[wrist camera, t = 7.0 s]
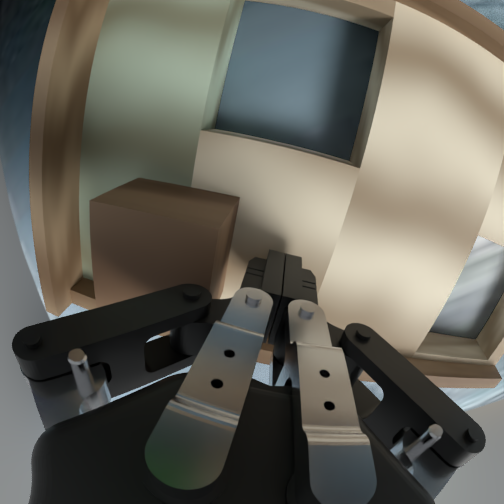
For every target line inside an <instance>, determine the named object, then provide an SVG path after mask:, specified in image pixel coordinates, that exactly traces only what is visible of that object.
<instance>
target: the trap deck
mask: <svg viewBox="0 0 504 504" xmlns="http://www.w3.org/2000/svg"><path fill="white" fill-rule="evenodd" d="M246 1H255V2H263V3H270V4H277V5H283V6H288V7H294V8H299V9H304V10H308V11H313V12H317V13H321V14H325V15H329V16H332V17H336V18H340V19H343V20H346V21H350V22H353V23H356V24H359V25H362V26H365V27H368V28H371V29H374V30H377V31H379V35H378V40H377V46H376V51H375V56H374V61H373V66H372V71H371V75H370V80H369V84H368V89H367V93H366V98H365V102H364V106H363V110H362V114H361V118H360V122H359V126H358V130H357V134H356V138H355V142H354V146H353V149H352V153H351V157H350V160H349V161H348V160H344V159H341V158H338V157H334V156H331V155H327V154H324V153H320V152H317V151H313V150H309V149H305V148H302V147H298V146H294V145H290V144H286V143H281V142H277V141H273V140H269V139H264V138H259V137H255V136H250V135H245V134H240V133H235V132H230V131H224V130H219V129H215V125H216V120H217V115H218V110H219V105H220V101H221V96H222V91H223V87H224V82H225V78H226V73H227V69H228V65H229V60H230V56H231V52H232V48H233V44H234V40H235V36H236V32H237V28H238V24H239V20H240V16H241V13H242V9H243V5H244V2H245V0H56V2H55V5H54V8H53V11H52V15H51V18H50V21H49V25H48V28H47V32H46V36H45V40H44V44H43V48H42V53H41V57H40V62H39V67H38V73H37V78H36V85H35V91H34V99H33V107H32V117H31V129H30V149H29V188H30V208H31V220H32V231H33V239H34V247H35V254H36V261H37V267H38V273H39V278H40V283H41V288H42V293H43V298H44V302H45V306H46V311H48V312H50V313H52V314H54V315H56V316H58V317H59V316H60V315H61V314H62V312H63V311H64V310H65V309H66V308H67V307H68V306H69V305H70V304H71V303H74V304H76V305H78V306H81V307H83V308H86V309H88V310H91V309H95V308H97V306H96V299H95V291H94V281H93V271H92V259H91V243H90V212H89V200H91V199H93V198H95V197H97V196H99V195H101V194H104V193H106V192H108V191H110V190H112V189H114V188H116V187H118V186H121V185H123V184H125V183H127V182H130V181H132V180H134V179H136V178H145V179H150V180H156V181H161V182H167V183H172V184H177V185H183V186H188V187H193V188H198V189H203V190H208V191H213V192H218V193H222V194H227V195H232V196H236V197H240V200H239V206H238V211H237V216H236V222H235V227H234V232H233V238H232V243H231V249H230V254H229V260H228V265H227V271H226V277H225V282H224V288H223V292H222V295H221V297H220V299H228V298H231V297H233V296H234V294H235V292H236V291H237V290H239V289H240V287H241V284H242V281H243V278H244V275H245V272H246V269H247V266H248V263H249V261H250V260H251V259H253V258H254V257H258V258H262V259H267V256H268V252H269V249H270V250H275V251H279V252H283V253H285V254H286V253H287V254H291V255H295V256H299V257H302V268H304V269H308V270H311V271H312V273H313V274H314V276H315V277H316V286H317V297H318V306H320V307H321V308H322V309H323V311H324V313H325V316H326V320H327V322H328V323H330V324H332V325H334V326H336V327H338V328H341V329H343V330H345V328H346V326H347V325H348V324H351V323H361V324H364V325H367V326H369V327H370V328H372V329H373V330H374V331H375V332H377V333H378V334H379V335H380V336H381V337H382V338H383V339H385V340H386V341H387V342H388V343H389V344H390V345H391V346H392V347H394V348H395V349H396V350H397V351H398V352H399V353H400V354H401V355H403V356H404V357H405V358H406V359H407V360H408V361H409V362H410V363H412V364H413V365H414V366H415V367H416V368H417V369H418V370H419V371H420V372H422V373H423V374H424V375H425V376H426V377H427V378H428V379H429V380H430V381H432V382H433V383H434V384H435V385H436V386H437V387H443V388H495V387H496V385H497V384H498V383H499V382H500V381H501V379H502V378H501V376H500V374H499V372H498V370H497V369H496V367H495V365H496V363H497V362H498V361H499V359H500V358H501V357H502V355H503V354H504V293H503V295H502V297H501V298H500V300H499V302H498V304H497V306H496V307H495V309H494V311H493V312H492V314H491V316H490V317H489V319H488V321H487V322H486V324H485V326H484V327H483V329H482V330H481V332H480V333H479V335H478V337H477V338H476V339H469V338H463V337H457V336H451V335H445V334H439V333H433V332H429V330H430V329H431V327H432V325H433V324H434V322H435V320H436V319H437V317H438V315H439V313H440V312H441V310H442V308H443V306H444V305H445V303H446V301H447V299H448V297H449V295H450V294H451V292H452V290H453V288H454V286H455V284H456V282H457V280H458V278H459V276H460V274H461V272H462V270H463V268H464V265H465V263H466V261H467V259H468V257H469V255H470V252H471V250H472V248H473V245H474V243H475V241H476V238H477V236H478V235H479V236H481V237H483V238H485V239H488V240H490V241H492V242H494V243H497V244H499V245H501V246H503V247H504V30H502V29H501V28H500V27H498V26H497V25H496V24H494V23H493V22H492V21H490V20H489V19H487V18H486V17H484V16H483V15H482V14H480V13H479V12H477V11H476V10H474V9H472V8H471V7H469V6H468V5H466V4H464V3H463V2H461V1H459V0H246ZM159 335H160V336H166V335H169V333H162V334H159ZM268 336H269V335H268ZM267 343H268V338H267V341H266V343H263V344H262V347H261V350H260V352H259V355H258V359H257V362H259V363H263V364H268V365H270V357H271V354H272V352H273V348H274V345H271V344H267ZM358 379H359V380H360V381H368V382H375V381H374V380H373V379H372V378H371V377H370V376H369V375H368V374H367V373H366V372H365V371H364V370H363V372H362V373H361V375H360V376H359V378H358Z"/></svg>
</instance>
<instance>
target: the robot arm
mask: <svg viewBox="0 0 504 504" xmlns="http://www.w3.org/2000/svg"><path fill="white" fill-rule="evenodd" d="M167 331H170V334H169V335H166V336H163V337H160V338H158V339H155V340H152V341H149V342H147V341H148V340H149V339H150V338H151V337H153V336H156V335H159V334H162V333H165V332H167ZM268 335H269V336H268ZM267 338H268V343H267V344H271V345H274V348H273V352H272V354H271V357H270V368H269V385H266V384H264V383H262V382H259V381H257V380H255V379H252V375H253V372H254V369H255V365H256V362H257V359H258V355H259V352H260V350H261V347H262V344H263V343H266V341H267ZM12 348H13V351H14V354H15V356H16V358H17V360H18V362H19V364H20V368H21V371H22V373H23V375H24V378H25V379H26V381H27V383H28V385H29V387H30V389H31V391H32V393H33V396H34V399H35V402H36V405H37V408H38V411H39V414H40V417H41V420H42V422H43V425H44V428H45V430H46V431H45V432H44V433H43V434H42V435H41V436H40V438H39V439H38V440H37V442H36V444H35V446H34V449H33V452H32V459H31V460H32V461H31V464H32V487H31V495H30V500H29V504H435V502H434V499H435V497H436V496H437V495H438V494H439V492H440V491H441V490H442V489H443V487H444V486H445V485H446V483H447V482H448V481H449V479H450V478H451V476H452V475H453V474H454V472H455V471H456V470H458V469H459V468H460V467H462V466H463V465H464V464H466V463H467V462H468V461H469V460H471V459H472V458H473V457H475V456H476V455H477V454H478V453H479V452H481V451H482V450H483V448H484V446H485V441H486V439H485V434H484V432H483V430H482V428H481V427H480V426H479V425H478V424H477V423H476V422H475V421H474V420H473V419H472V418H471V417H470V416H469V415H468V414H466V413H465V412H464V411H463V410H462V409H461V408H460V407H459V406H458V405H457V404H456V403H455V402H453V401H452V400H451V399H450V398H449V397H448V396H447V395H446V394H445V393H444V392H443V391H441V390H440V389H439V388H438V387H437V386H436V385H435V384H434V383H433V382H432V381H430V380H429V379H428V378H427V377H426V376H425V375H424V374H423V373H422V372H420V371H419V370H418V369H417V368H416V367H415V366H414V365H413V364H412V363H410V362H409V361H408V360H407V359H406V358H405V357H404V356H403V355H401V354H400V353H399V352H398V351H397V350H396V349H395V348H394V347H392V346H391V345H390V344H389V343H388V342H387V341H386V340H385V339H383V338H382V337H381V336H380V335H379V334H378V333H377V332H375V331H374V330H373V329H372V328H370V327H369V326H367V325H364V324H361V323H351V324H348V325H347V326H346V328H345V330H343V329H341V328H338V327H336V326H334V325H332V324H330V323H328V322H327V320H326V316H325V313H324V311H323V309H322V308H321V307H320V306H318V297H317V286H316V277H315V276H314V274H313V273H312V271H311V270H308V269H304V268H302V257H299V256H295V255H291V254H287V253H286V254H285V253H283V252H279V251H275V250H270V249H269V252H268V256H267V259H262V258H258V257H254V258H253V259H251V260H250V261H249V263H248V266H247V269H246V272H245V275H244V278H243V281H242V284H241V287H240V289H239V290H237V291H236V292H235V294H234V296H233V297H231V298H228V299H212V295H211V293H210V292H209V291H208V290H207V289H206V288H204V287H202V286H200V285H197V284H181V285H177V286H174V287H170V288H167V289H163V290H159V291H156V292H152V293H149V294H145V295H142V296H138V297H134V298H131V299H127V300H124V301H120V302H116V303H113V304H109V305H106V306H102V307H98V308H95V309H91V310H87V311H84V312H80V313H76V314H73V315H69V316H65V317H62V318H58V319H54V320H50V321H47V322H43V323H39V324H35V325H32V326H28V327H25V328H23V329H22V330H20V331H19V332H18V333H17V334H16V335H15V337H14V339H13V342H12ZM192 364H193V365H192ZM190 365H192V366H191V368H190V370H189V372H188V373H180V374H176V375H172V376H169V377H167V378H164V379H162V380H160V381H158V382H156V383H153V384H151V385H149V386H147V387H145V388H142V389H140V390H138V391H136V392H133V393H131V394H129V395H127V396H124V397H122V398H120V399H117V400H115V401H113V402H110V401H111V398H113V397H116V396H118V395H121V394H123V393H126V392H128V391H131V390H133V389H136V388H138V387H141V386H143V385H146V384H148V383H151V382H153V381H156V380H158V379H160V378H163V377H165V376H167V375H170V374H172V373H174V372H177V371H179V370H181V369H183V368H186V367H188V366H190ZM363 370H364V371H365V372H366V373H367V374H368V375H369V376H370V377H371V378H372V379H373V380H374V381H375V382H376V383H377V384H378V385H379V386H380V387H381V388H382V390H383V393H384V397H383V400H382V401H380V400H379V399H378V398H377V397H376V396H375V395H374V394H373V393H372V392H371V391H370V390H369V389H368V388H367V387H366V386H365V385H364V384H363V383H362V382H361V381H360V380H359V379H358V378H359V376H360V375H361V373H362V372H363Z"/></svg>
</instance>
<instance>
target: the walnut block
mask: <svg viewBox="0 0 504 504" xmlns="http://www.w3.org/2000/svg"><path fill="white" fill-rule="evenodd" d="M239 200H240V197H236V196H232V195H227V194H222V193H218V192H213V191H208V190H203V189H198V188H193V187H188V186H183V185H177V184H172V183H167V182H161V181H156V180H150V179H145V178H136V179H134V180H132V181H130V182H127V183H125V184H123V185H121V186H118V187H116V188H114V189H112V190H110V191H108V192H106V193H104V194H101V195H99V196H97V197H95V198H93V199H91V200H89V212H90V243H91V259H92V271H93V281H94V291H95V299H96V306H97V308H98V307H102V306H106V305H109V304H113V303H116V302H120V301H124V300H127V299H131V298H134V297H138V296H142V295H145V294H149V293H152V292H156V291H159V290H163V289H167V288H170V287H174V286H177V285H181V284H197V285H200V286H202V287H204V288H206V289H207V290H208V291H209V292H210V293H211V295H212V299H220V297H221V295H222V292H223V288H224V282H225V277H226V271H227V265H228V260H229V254H230V249H231V243H232V238H233V232H234V227H235V222H236V216H237V211H238V206H239ZM165 333H169V334H170V331H167V332H165Z"/></svg>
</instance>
